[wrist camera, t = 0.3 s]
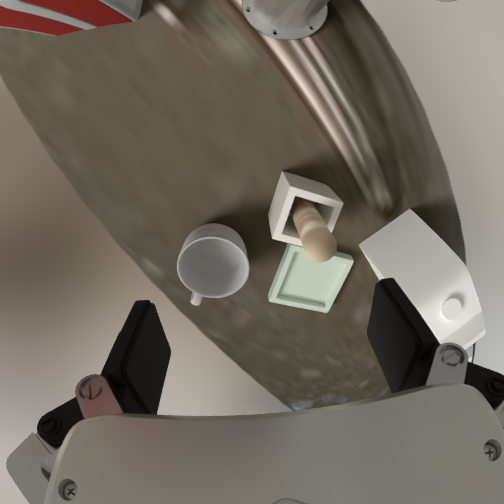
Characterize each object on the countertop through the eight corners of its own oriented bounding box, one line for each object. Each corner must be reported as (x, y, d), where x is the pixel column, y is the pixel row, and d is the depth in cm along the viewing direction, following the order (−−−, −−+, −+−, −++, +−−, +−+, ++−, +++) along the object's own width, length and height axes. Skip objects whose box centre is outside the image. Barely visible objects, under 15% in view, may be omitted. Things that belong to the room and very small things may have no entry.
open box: (282, 170, 43) (290, 186, 35) (326, 184, 44) (343, 202, 37) (267, 214, 47) (272, 238, 39) (311, 226, 48) (323, 252, 40)
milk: (381, 284, 54) (438, 385, 31) (358, 244, 50) (424, 350, 27) (427, 252, 51) (501, 338, 28) (409, 208, 46) (501, 290, 24)
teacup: (208, 203, 46) (201, 223, 39) (261, 240, 49) (264, 264, 42) (166, 263, 51) (155, 289, 44) (215, 293, 54) (211, 321, 47)
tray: (289, 238, 49) (291, 244, 47) (350, 255, 51) (354, 261, 49) (268, 294, 54) (268, 301, 52) (325, 305, 56) (327, 312, 54)
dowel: (291, 187, 44) (312, 229, 30) (312, 193, 44) (342, 238, 30) (283, 208, 46) (300, 258, 31) (304, 214, 46) (329, 265, 32)
